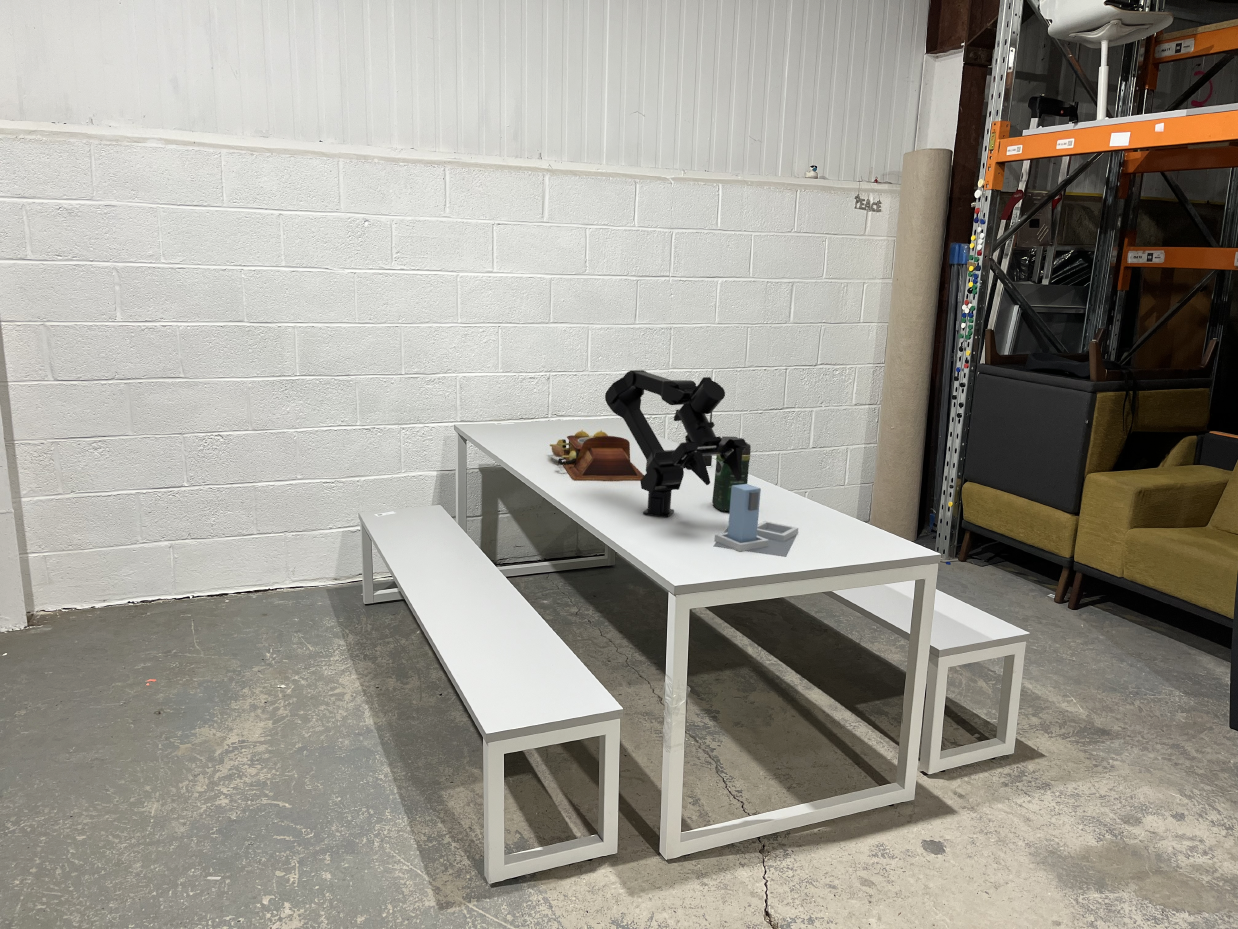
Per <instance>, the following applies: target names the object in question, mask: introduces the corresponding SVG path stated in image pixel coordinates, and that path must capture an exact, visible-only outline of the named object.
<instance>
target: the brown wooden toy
mask: <svg viewBox="0 0 1238 929" xmlns="http://www.w3.org/2000/svg"><path fill="white" fill-rule="evenodd" d="M566 439H567V440H568V442H567V440H566ZM630 445H631V444H630V440H628V439H627V438H624V437H620V436H614V435H608V434H607V433H606V432H605V431H602V429H600V431H597V432H595V433H594V434H593V435H590V434H589V433H587V432H586V431H584V430H583V429H581V430H580V431H577V432H576V433H575V434H574V435H573V434H572V435H571V434H570V435H567V436H566V438H565V439H562V438H561V439H558V440H557V442H556V443H550V444H549V447H551V452H552V454H553V455H554V456H555V457H558V460H557V464H558V465H561V466H563V467H564V469H565V470H566V472H567V473H568V474H569V477H570V478H571V479H572V480H573V481H576V482H577V481H582V482H584V481H585V482H587V481H588V482H589V481H592V482H594V481H595V482H623V481H624V482H625V481H626V482H630V481H631V482H633V481H635V482H636V481H637V482H639V481H640V480H641V479H642V478H643V477H644V475H645V474H644V473H643V472H641V470H639V468H638V467H636V466H635V464H634V463H632V461H631V449H630V448H631V446H630ZM567 446H568V447H567Z"/></svg>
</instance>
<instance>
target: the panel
mask: <svg viewBox="0 0 1238 929" xmlns="http://www.w3.org/2000/svg"><path fill="white" fill-rule="evenodd" d="M797 535H799V527H796V526H792V525H787V524H782V523H778V522H772V521H767V520H764V521H762V522H758V526H757V537H756V541H750V542H744V543H739V542H737V541H734V540H732V539H730V538H728V527H727V528H726V529H725V530H724V532H723V533H722V532H721V533H715V534H714V541H713V542H715V543H714V544H713V545H712V546H713V547H715V548H720V549H721V548H722V549H729V550H735V551H737V552H749V553H756V554H763V555H770V556H777V557H783V558H786V557H787V556H788V554H789V552H790V550H791V548H792V546H793V544H794V542H795V540H796V538H797Z"/></svg>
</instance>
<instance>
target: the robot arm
mask: <svg viewBox="0 0 1238 929" xmlns="http://www.w3.org/2000/svg"><path fill="white" fill-rule="evenodd" d="M645 391H647V392H649V393H651V394H655V395H658V396H660V397H661V400H662V401H663V402H665V403H666V404H668V405H670V406H680V405H681V406H680V408H679V409H676V410H675V414H674V417H673V421H674V422H681V423H682V425H683V427H684V428H683V429H684V430H685V432H686V435H685V436H684V438H685V441H684V442H680V444H678V445H677V447H676V448H675V449H673V450H674V451H667V452H666V451H665V450H666V449H664V447H663V446H662V444H661V442H660V440H659V439H658V437H657V436H656V433H655V432H654V430H653V429H652V426H651V425H650V424H649V422H648V420H647V419H646V417H645V415H644V413H643V411H642V410H641V406H642V397H643V396H644V394H645ZM725 396H726V391H725V389H724V387H722V386H721V384H719V383H718V382H716V381H714V380H713V379H712V377H710V376H708V377H702V378H701V380H700V382H699V383H698V385H697V384H696V382H695V381H694V380H690V379H689V380H687V379H685V380H684V379H683V380H681V379H680V380H679V379H669V378H667V377H663V376H659V375H656V374H654V373H651V372H648V371H646V370H643V369H638V370H634V369H632V370H629V371H627V372H626V373H625V375H623V376H622V377H621V378H619V379H618V380H616V381H614V382H613V383H612V384H611V385H610V386H609V388H608V389H607V390H606V392H605V394H604V400H605V402H606V404H607V406H608V407H609V408H610V410H611V412H612V413H614V414H615V415H617V416H618V417H619V418H622V419H623V420H624V422H625V424H626V426H627V427H628V429H629V431H630V433H631V434H632V436H633V439H634V440H635V442H636V443H637V446H638V447H639V449H640V450H641V453H642V454H643V456H644V458H645V459H646V463H645V472H646V473H645V474H643V475H644V477H643V478H642V479H641V480H640V488H641V489H642V490H644V491H646V492H648V496H647V497H648V498H647V508H646V509H645V510H644V511H642V513H643V515H649V516H656V517H662V518H669V517H670V516H671V515H672V514H673V513H674V512H675V509H671V507H672V506H671V504H672V491H674V490H675V491H676V490H677V491H678V490H680V488H681V485H682V481H683V478H684V475H685V472H684V469H686V470H688V471H692V472H693V473H694V474H695V475H696V476H697V477H698V478H699V480H701V482H703V483H704V485H706V486H709V485H710V484H711V480H710V475H709V471H708V469H707V468H708V467H706V465H705V462H704V460H705V458H706V456H707V455H712V456H716V454H720V456H721V458H722V459H723V460H724V461H723V463H725V464H727V465H729V467H730V469H731V471H732V473H733V475H734V477H735V478H736V480H737V481H738V482H739V481H740V480H741V464H742V453H743V452H744V451H745V449H746V448H747V447H748V446H747V444H746V443H747V442H746V440H745V438H742V437H737V438H733V439H729V440H728V441H727V442H726V443H725V444H724V445H720V444H719V443H720V442H721V441H722V439H721V438H722V437H721V436H717V435H716V433H715V432H714V427H715V422H714V421H712V422H710V420H709V419H708V417H707V415H708V414H710V413H711V412H712V413H713V412H714V410H715V409H716V407H718V405H719V404H720V403H721V402H722V401H723V400H724V399H725ZM719 445H720V446H719ZM683 467H684V468H683Z"/></svg>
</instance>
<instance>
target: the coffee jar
mask: <svg viewBox="0 0 1238 929" xmlns="http://www.w3.org/2000/svg"><path fill="white" fill-rule="evenodd" d="M733 438H738V437H737V436H722V437H721V439H722V441H721V442H720V443H719V444H720V445H724V444H725V443H726V442H727V441H728V440H729V439H733ZM746 444H747V446H748V447H747V448H746V449H745V451H744V452H743V453H742V464H741V480H740V481H739V482H738V481H737V480H736V478H735V477H734V475H733V473H732V471H731V469H730V467H729V465H727V464H725V463H723V461H724V460H723V459H722V458H721V456H720V454H716V455H715V457H716V458H715V461H716V462H715V472H714V473H715V474H714V483H713V492H712V500H711V501H712V502H711V503H712V505H713V506H714V507H715V508H716V509H718V510H720V511H726V512H730V501H731V489H732V486H733V485H742V484H748V483H749V482H748V481H749V480H748V479H749V466H750V459H751V453H752V452H751V451H752V449H751V448H752V447H751V444H750V443H748V442H746ZM720 445H719V446H720Z"/></svg>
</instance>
